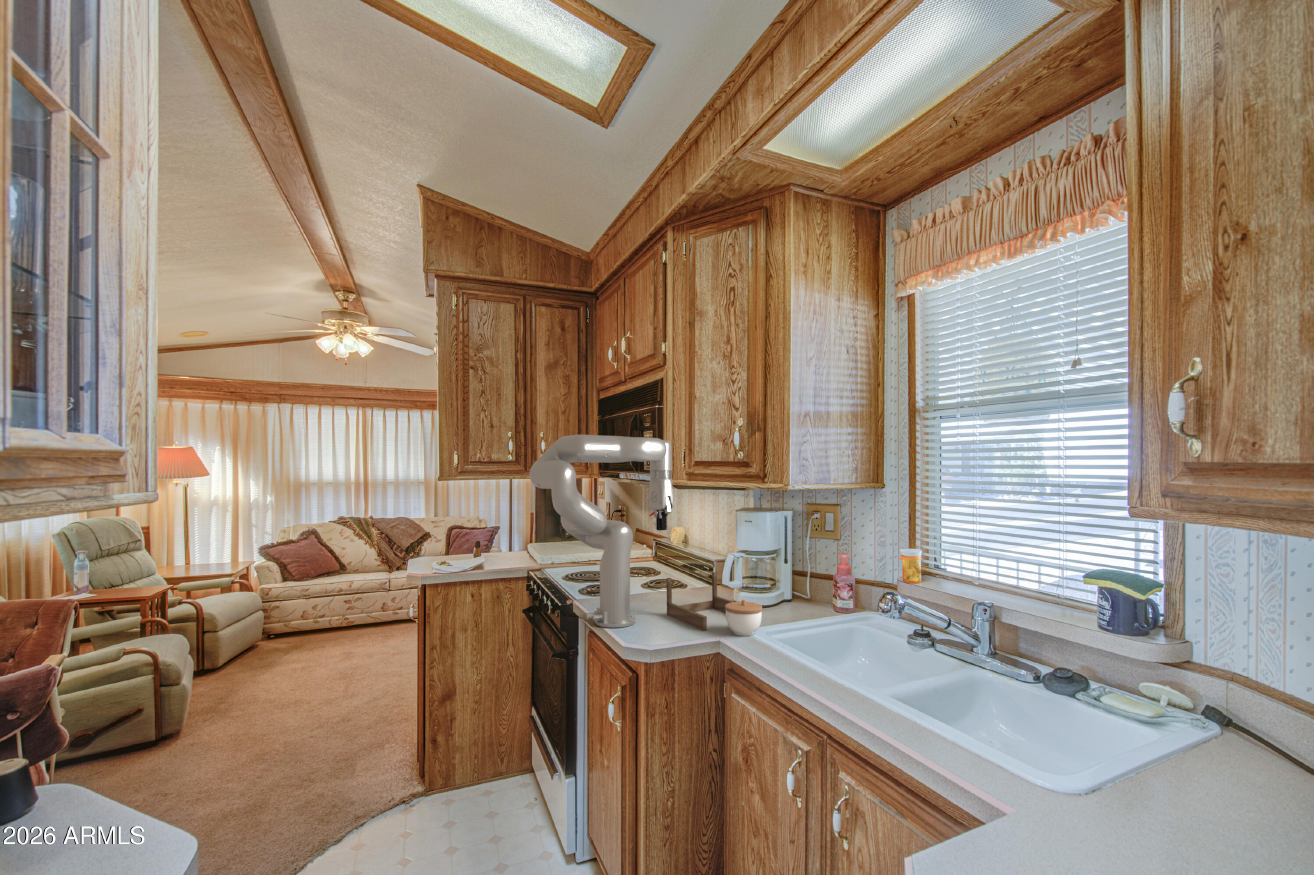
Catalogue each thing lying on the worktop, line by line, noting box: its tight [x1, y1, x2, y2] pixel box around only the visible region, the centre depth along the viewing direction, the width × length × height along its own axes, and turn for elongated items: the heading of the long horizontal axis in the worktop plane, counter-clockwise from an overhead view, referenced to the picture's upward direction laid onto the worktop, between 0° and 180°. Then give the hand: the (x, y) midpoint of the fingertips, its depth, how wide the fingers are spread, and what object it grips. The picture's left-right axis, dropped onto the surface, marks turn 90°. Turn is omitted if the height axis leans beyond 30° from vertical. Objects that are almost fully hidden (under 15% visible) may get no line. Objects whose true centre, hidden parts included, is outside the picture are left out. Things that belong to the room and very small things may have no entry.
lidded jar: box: [725, 599, 763, 637], centre depth 162 cm, size 11×11×9 cm
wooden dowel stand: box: [666, 571, 734, 632], centre depth 178 cm, size 19×21×12 cm
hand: (661, 529), depth 190 cm, fingers closed
